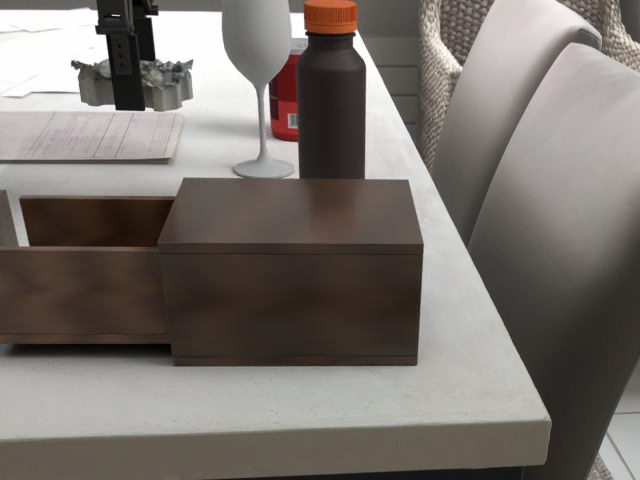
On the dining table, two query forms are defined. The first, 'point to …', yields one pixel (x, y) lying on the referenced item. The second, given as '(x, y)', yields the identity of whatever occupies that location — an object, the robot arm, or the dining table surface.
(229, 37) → the wineglass
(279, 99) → the canned food
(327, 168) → the bottle
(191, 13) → the dining table surface
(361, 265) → the cabinet
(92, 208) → the drawer
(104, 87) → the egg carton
